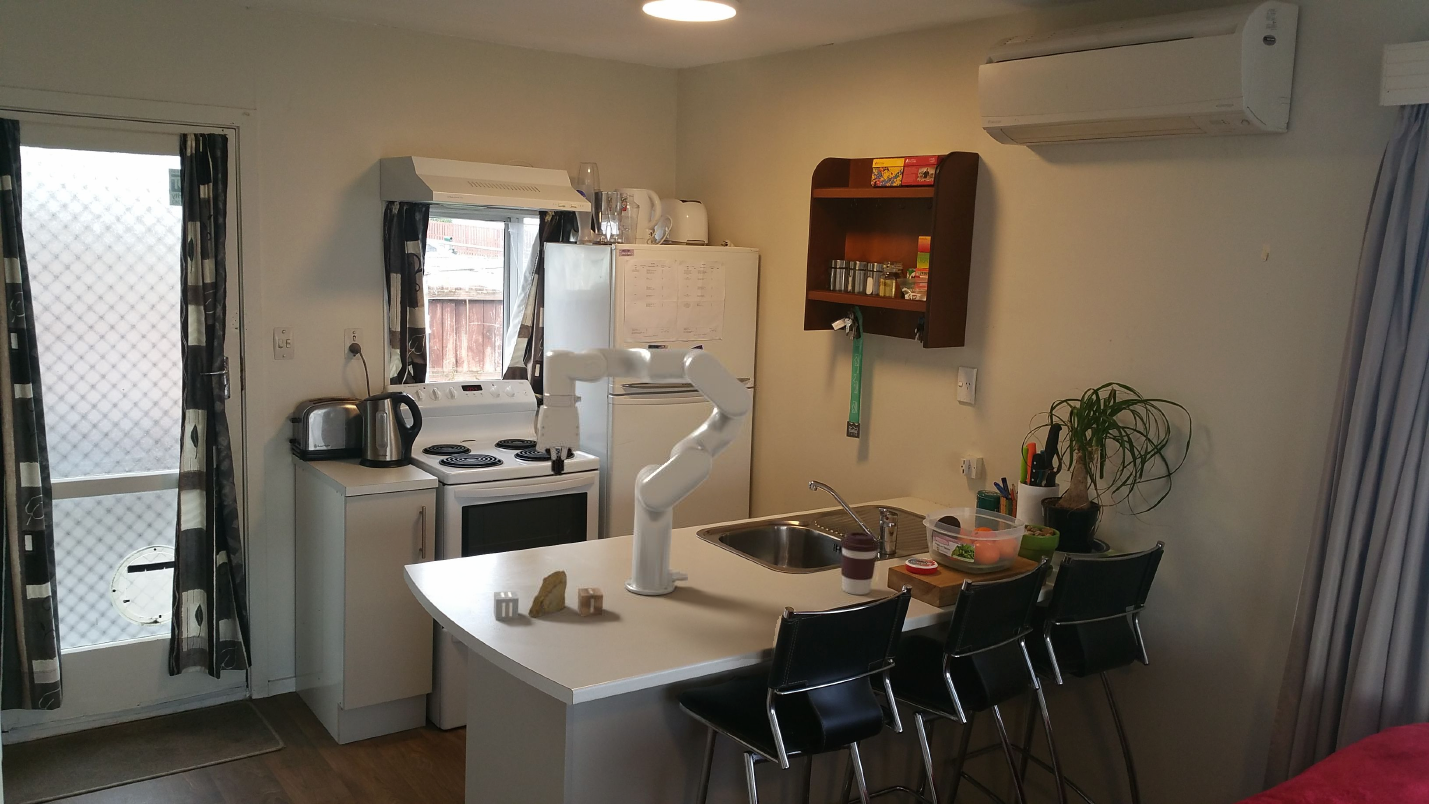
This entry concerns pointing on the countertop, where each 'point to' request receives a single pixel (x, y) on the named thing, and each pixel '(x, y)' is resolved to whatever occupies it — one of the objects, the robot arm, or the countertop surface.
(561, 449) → the robot arm
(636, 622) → the countertop surface
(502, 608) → the grey block
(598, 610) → the walnut block
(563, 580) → the rock
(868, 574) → the coffee cup
